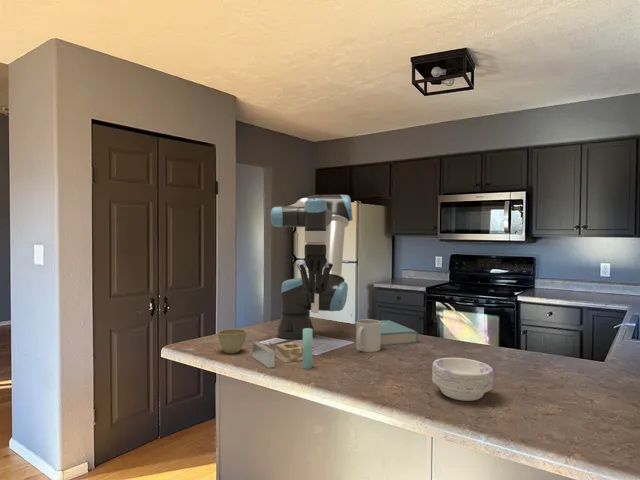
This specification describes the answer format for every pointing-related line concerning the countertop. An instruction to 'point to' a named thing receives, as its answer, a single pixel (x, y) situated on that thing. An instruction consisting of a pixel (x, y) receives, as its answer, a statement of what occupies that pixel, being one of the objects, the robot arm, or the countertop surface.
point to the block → (289, 352)
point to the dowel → (307, 348)
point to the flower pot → (232, 339)
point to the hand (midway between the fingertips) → (314, 312)
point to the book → (396, 334)
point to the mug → (368, 335)
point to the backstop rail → (264, 354)
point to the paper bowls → (462, 378)
